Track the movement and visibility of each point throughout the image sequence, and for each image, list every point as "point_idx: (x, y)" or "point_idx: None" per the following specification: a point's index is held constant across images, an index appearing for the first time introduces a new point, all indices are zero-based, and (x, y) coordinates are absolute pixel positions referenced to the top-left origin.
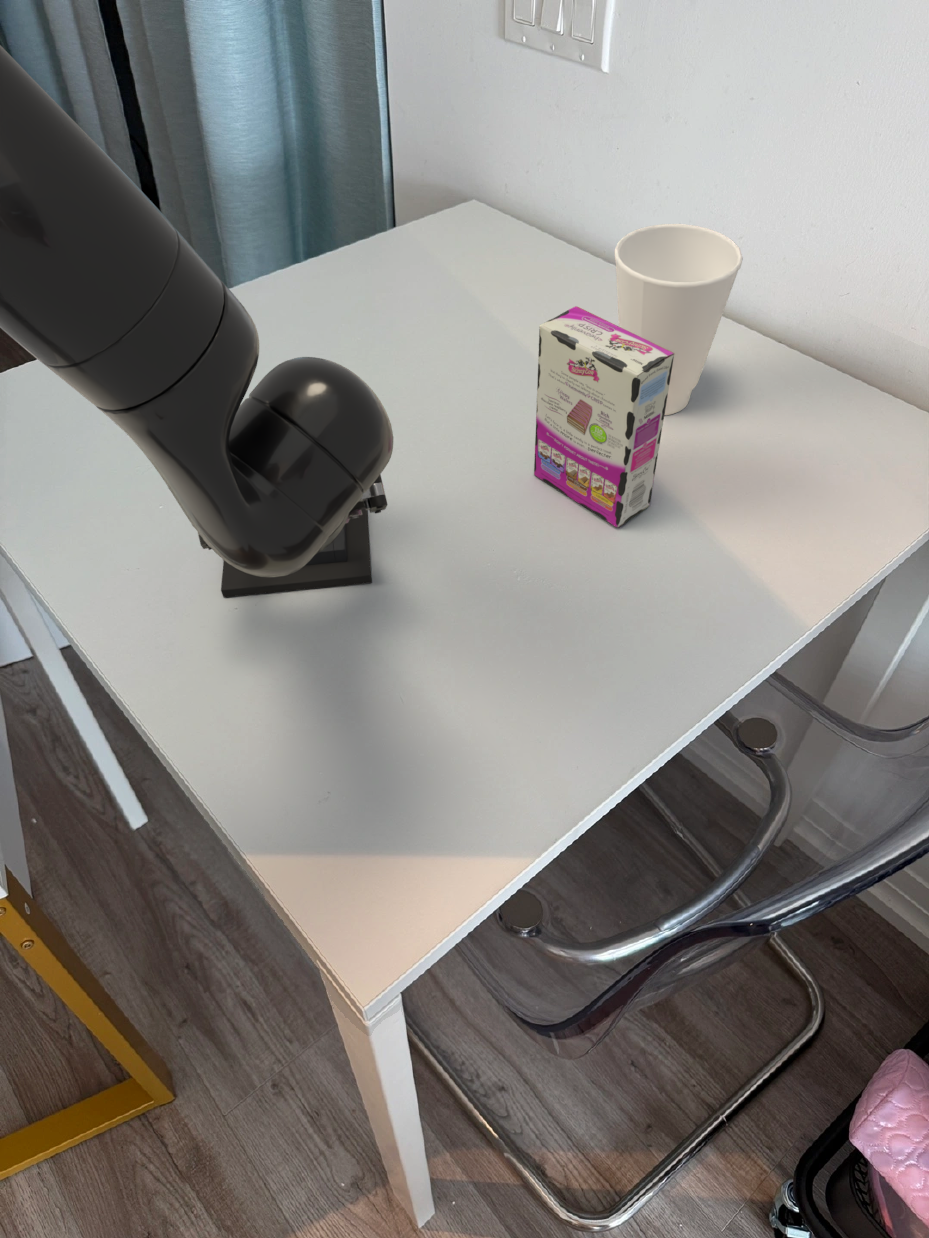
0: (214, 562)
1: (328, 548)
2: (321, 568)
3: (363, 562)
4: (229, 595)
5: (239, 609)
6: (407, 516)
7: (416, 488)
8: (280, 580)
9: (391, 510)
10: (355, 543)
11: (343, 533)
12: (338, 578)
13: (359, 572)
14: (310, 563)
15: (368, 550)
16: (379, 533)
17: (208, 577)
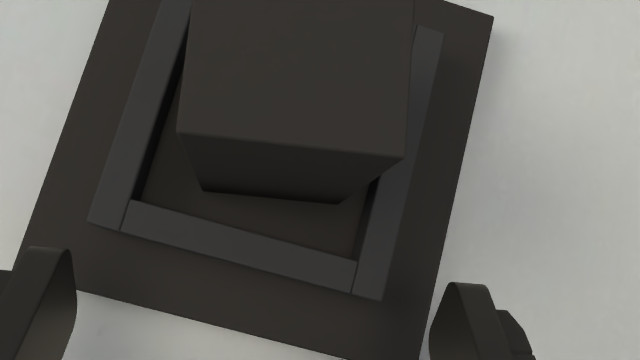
0: (38, 127)
1: (339, 281)
2: (299, 298)
3: (410, 321)
4: None
5: None
6: (551, 170)
7: (596, 83)
8: (181, 301)
9: (520, 133)
10: (410, 242)
11: (395, 235)
12: (332, 355)
13: (390, 354)
14: (276, 275)
15: (434, 281)
16: (471, 201)
17: (6, 177)
